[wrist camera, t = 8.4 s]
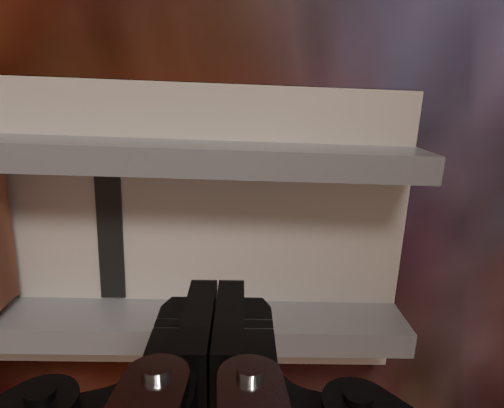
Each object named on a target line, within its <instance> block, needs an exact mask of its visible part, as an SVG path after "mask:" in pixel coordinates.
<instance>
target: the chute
mask: <svg viewBox="0 0 504 408" xmlns="http://www.w3.org/2000/svg"><path fill="white" fill-rule="evenodd" d="M423 92H424V91H402V90H375V89H349V88H323V87H297V86H271V85H245V84H218V83H192V82H166V81H140V80H114V79H88V78H61V77H35V76H9V75H0V174H6V181H7V190H8V198H9V207H10V215H11V223H12V232H13V240H14V249H15V257H16V265H17V274H18V282H19V291H20V293H19V294H18V295H17V296H16V297H15V298H14V299H13V300H12V301H11V302H10V303H8V304H7V305H6V306H5V307H4V308H3V309H2V310H1V311H0V361H85V362H133V361H135V360H137V359H139V358H141V357H142V356H143V353H144V351H145V348H146V345H147V342H148V340H149V337H150V334H151V332H152V329H153V328H154V324H155V321H156V319H157V315H158V313H159V310H160V307H161V306H162V305H163V304H164V303H165V302H166V301H168V300H169V299H170V298H171V297H187V295H188V291H189V287H190V283H191V280H217V286H218V284H219V280H244V297H250V298H263V299H264V300H265V301H266V302H267V303H268V304H269V305H270V306H271V310H272V320H273V329H274V335H275V344H276V352H277V360H278V364H355V365H386V358H398V359H414V354H415V348H416V341H417V335H416V333H415V332H414V330H413V329H412V328H411V326H410V325H409V323H408V322H407V321H406V319H405V318H404V316H403V315H402V314H401V312H400V311H399V309H398V308H397V307H396V305H395V304H394V301H395V293H396V286H397V279H398V272H399V265H400V257H401V250H402V243H403V236H404V229H405V222H406V214H407V207H408V200H409V193H410V186H411V185H414V186H441V184H442V178H443V172H444V165H445V159H446V157H444V156H441V155H438V154H435V153H432V152H429V151H427V150H424V149H421V148H418V147H416V143H417V135H418V128H419V121H420V114H421V107H422V100H423Z"/></svg>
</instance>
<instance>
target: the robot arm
mask: <svg viewBox="0 0 504 408" xmlns="http://www.w3.org/2000/svg"><path fill="white" fill-rule="evenodd" d="M0 408H413V407H412V406H410V405H409V404H407V403H405V402H404V401H402V400H401V399H399V398H398V397H396V396H394V395H393V394H391V393H390V392H388V391H387V390H385V389H383V388H382V387H380V386H379V385H377V384H375V383H373V382H371V381H368V380H365V379H362V378H357V377H342V378H338V379H334V380H332V381H330V382H329V383H328V384H326V386H325V387H324V389H323V391H322V393H321V392H317V391H313V390H309V389H306V388H302V387H300V386H298V385H296V384H294V383H292V382H291V381H289V380H288V379H287V378H286V377H285V376H284V375H283V372H282V370H281V368H280V366H279V365H278V360H277V352H276V344H275V335H274V329H273V320H272V310H271V306H270V305H269V304H268V303H267V302H266V301H265V300H264V299H263V298H250V297H244V280H219V284H218V286H217V280H191V283H190V287H189V291H188V295H187V297H171V298H170V299H169V300H168V301H166V302H165V303H164V304H163V305H162V306H161V307H160V310H159V313H158V315H157V319H156V321H155V324H154V328H153V329H152V332H151V334H150V337H149V340H148V342H147V345H146V348H145V351H144V353H143V356H142V357H141V358H139V359H137V360H135V361H133V362H132V363H131V364H129V365H128V366H127V367H126V368H125V370H124V371H123V373H122V375H121V377H120V379H119V381H118V382H117V384H114V385H112V386H109V387H105V388H101V389H96V390H92V391H87V392H82V393H80V388H79V384H78V383H77V381H76V380H75V379H74V378H72V377H70V376H67V375H63V374H47V375H42V376H38V377H34V378H32V379H29V380H27V381H24V382H22V383H20V384H18V385H17V386H15V387H13V388H11V389H9V390H7V391H5V392H3V393H1V394H0Z"/></svg>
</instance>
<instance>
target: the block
mask: <svg viewBox="0 0 504 408" xmlns="http://www.w3.org/2000/svg"><path fill="white" fill-rule="evenodd" d="M19 293H20V291H19V282H18V274H17V265H16V257H15V249H14V240H13V232H12V223H11V215H10V207H9V198H8V190H7V181H6V174H0V311H1V310H2V309H3V308H4V307H5V306H6V305H7V304H8V303H10V302H11V301H12V300H13V299H14V298H15V297H16V296H17V295H18V294H19Z"/></svg>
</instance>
